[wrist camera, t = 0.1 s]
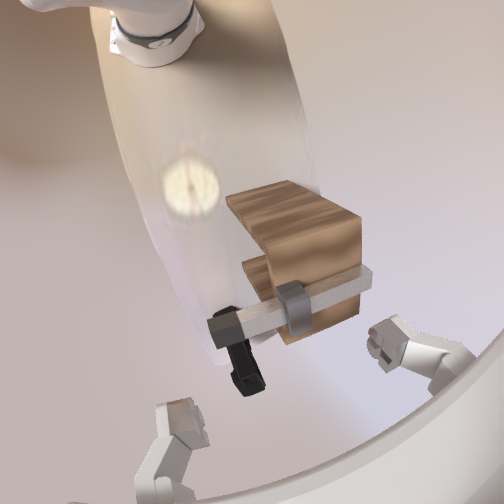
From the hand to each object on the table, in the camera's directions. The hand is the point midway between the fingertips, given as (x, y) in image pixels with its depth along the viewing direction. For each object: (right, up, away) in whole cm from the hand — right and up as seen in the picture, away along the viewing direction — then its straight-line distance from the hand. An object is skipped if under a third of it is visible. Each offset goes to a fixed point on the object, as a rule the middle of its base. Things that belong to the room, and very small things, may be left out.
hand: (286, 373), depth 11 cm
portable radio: (-8, -12, +59) cm, 61 cm away
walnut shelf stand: (+1, +11, +51) cm, 52 cm away
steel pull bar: (+4, -2, +27) cm, 28 cm away
